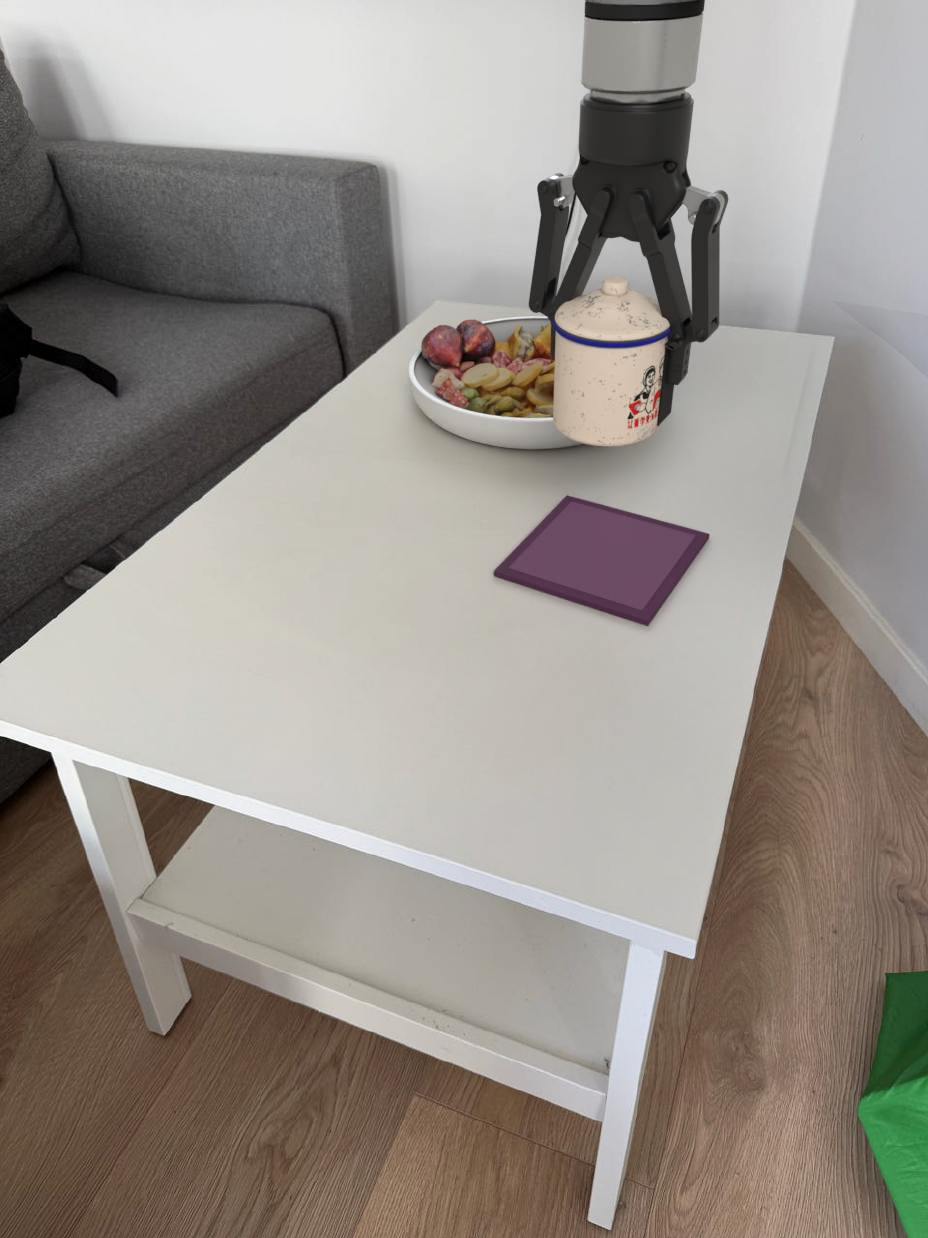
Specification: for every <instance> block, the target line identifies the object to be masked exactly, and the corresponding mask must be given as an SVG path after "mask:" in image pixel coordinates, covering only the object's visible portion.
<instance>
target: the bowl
mask: <svg viewBox="0 0 928 1238" xmlns="http://www.w3.org/2000/svg"><path fill="white" fill-rule="evenodd" d="M420 346H421V347H419V348H418V350H416V351H415V353H414V354H413V355H412V356H411V358H410V361H409V363H408V366H407V376H408V383H409V389H410V392H411V395H412V397H413V399H414V401H415V402H416V405H417V406H418V407H419V408H420V410H421V411H422V413H423V414H425V416H427V417H428V418H429V420H431V421H432V422H433V423H435V424H436V425H437V426H439V427H440V428H442V429H444V430H445V431H447V432H449V433H451V434H454V435H456V436H458V437H461V438H463V439H465V440H469V441H472V442H476V443H479V444H483V445H488V446H489V445H490V446H493V447H499V448H507V449H518V450H548V449H549V450H551V449H560V448H569V447H575V446H580V445H585V444H584V443H580V442H577V441H574V440H572V439H570V438H568V437H566V436H565V435H563V434H562V433H561V432H560V431H559V430H558V429H557V428H556V426H555V424H554V421H553V405H554V373H555V361H554V360H552V357H551V354H550V347H551V322H550V320H549V319H548V317H546V316H545V315H541V316H540V315H531V316H528V315H527V316H525V315H524V316H512V317H502V318H495V319H489V320H484V321H480V320H477V319H465V320H462V321H461V322H460V323H459V324H458V325H457V326H456V328H455V327H454V326H451V325H447V324H439V325H437V326H435V327H433V329H431V330H430V331H428V332H427V333H426V334H425V336H424V337H423V338H422V340H421V345H420Z"/></svg>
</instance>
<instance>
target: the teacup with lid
mask: <svg viewBox="0 0 928 1238" xmlns="http://www.w3.org/2000/svg"><path fill="white" fill-rule="evenodd" d="M553 326H554V329H555V330H556V340H555V373H554V405H553V421H554V424H555V426H556V428H557V429H558V430H559V431H560V432H561V433H562V434H563V435H565V436H566V437H568V438H570V439H572V440H574V441H577V442H580V443H584V444H583V445H590V446H595V447H623V446H628V445H633V444H636V443H639V442H642V441H644V440H646V439H648V438H649V437H651V436H652V435H654V433H656V432H657V430H658V428H659V426H657V419H658V410H659V401H660V392H661V383H662V374H663V365H664V355H665V347H666V346H665V343H666V342H667V341H668V337H667V336H668V335H669V334H670V333H671V329H669V327H670V324H669V322H668V320H667V319H665V318H663V317H662V314H661V311H660V307H659V303H658V299H655V298H652V297H649V296H645V295H643V294H641V293H640V292H639V291H636V290H633V289H631V288H630V281H629V280H628V278H627V277H624V276H621V275H611V276H608V277H605V278H604V279H603V281H602V283H601V288H598V289H595V290H593V291H591V292H588V293H587V294H582V296H579V297H576V298H574V299H573V300H571V301H568V302H565V303H564V304H562V305H561V306H560V307H559V309H558V310H557V312H556V314H555V317H554V319H553Z"/></svg>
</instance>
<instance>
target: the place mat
mask: <svg viewBox="0 0 928 1238" xmlns="http://www.w3.org/2000/svg"><path fill="white" fill-rule="evenodd" d="M709 539H710V533H708V532H704V531H701V530H697V529H693V528H689V527H685V526H682V525H679V524H675V523H671V522H668V521H663V520H660V519H658V518H653V517H648V516H645V515H641V514H638V513H634V512H631V511H628V510H625V509H624V510H623V509H619V508H616V507H612V506H608V505H605V504H601V503H597V502H594V501H590V500H586V499H582V498H579V497H575V496H571V495H568V494H567V495H566V496H565V497H563V499H562V500H561V501H560V502H559V503H558V504H557V505H556V506H554V508H553V509H552V510H551V511H550V512H549V513H548V514H547V515H546V516H545V517H544V518H543V519H542V520H541V521H540V522H539V524H538V525H536V526H535V528H534V529H533V530H532V531H531V532H530V533H529V534H527V536H526V537H525V538H524V539H523V540H522V541H521V542H520V543H519V544H518V545H517V546H516V547H515V548H514V549H513V551H511V553H510V554H509V555H507V557H505V559H504V560H503V561H502V562H501V563H500V564H499V565H498V566H497V567H496V568H495V569H494V570H493V577H495V578H499V579H502V580H505V581H507V582H511V583H514V584H517V585H520V586H523V587H526V588H530V589H533V590H535V591H539V592H542V593H545V594H547V595H551V596H554V597H557V598H560V599H564V600H566V601H570V602H573V603H575V604H578V605H582V606H585V607H588V608H591V609H594V610H597V611H600V612H603V613H605V614H609V615H613V616H616V617H618V618H620V619H621V618H623V619H625V620H628V621H631V622H634V623H637V624H640V625H644V626H646V627H648V626H649V625H650V624H651V623H652V621H653V620H654V618H655V617H656V616H657V614H658V613H659V611H660V609H661V608H662V607H663V605H664V604H665V603H666V601H667V600H668V598H669V597H670V595H672V592H673V591H674V590H675V588H676V587H677V585H678V584H679V583H680V582H681V580H682V578H683V577H684V575H685V574H686V573H687V571H688V570H689V568H690V567H691V565H692V564H693V563H694V561H695V559H697V557H698V555H699V554H700V552H701V551H702V549H704V547H705V545H706V544H707V542H708V541H709Z"/></svg>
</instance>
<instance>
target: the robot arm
mask: <svg viewBox="0 0 928 1238" xmlns="http://www.w3.org/2000/svg"><path fill="white" fill-rule="evenodd" d="M584 1H585V2H584V19H583V35H582V50H581V51H582V52H581V53H582V55H581V67H580V68H581V69H580V83H581V85H582V86H583V87H584V89H586V90H589V92H588V93H585V95H583V98H582V99H581V100H580V102H579V123H578V124H579V126H578V154H579V160H578V164H577V167H576V169H575V171H574V173H573V174H567V175H564V174H563V173H561V172H557V173H554V174H552V175H550V176H548V177H546V178H545V179H542V180H540V182H538V183H537V187H536V191H537V197H538V204H539V212H540V219H539V225H538V233H537V241H536V247H535V255H534V262H533V269H532V276H531V283H530V291H529V296H528V297H529V298H528V309H529V310H530V311H531V312H532V313H534V314H538V313H540V314H541V315H542V316H546V317H548V319H549V320H550V322H551V347H550V354H551V357H552V360H554V361H555V340H556V330H555V329H554V326H553V319H554V317H555V314H556V312H557V310H558V309H559V307H560V306H561V305H562V304H564V303H565V302H568V301H571V300H573V299H574V298H576V297H579V296H583V295H584V292H585V289H586V287H587V285H588V282H589V280H590V278H591V276H592V274H593V271H594V268H595V266H596V264H597V263H598V262H597V261H599V260H598V259H599V257H600V256H601V253H602V250H603V248H604V246H605V245H606V242H607V240H608V239H615V238H617V239H618V238H623V239H625V240H627V241H630V242H635V243H639V247H640V250H641V254H642V255H643V257H644V258H645V259H646V261H647V265H648V268H649V272H650V276H651V280H652V283H653V284H652V285H653V287H654V291H655V292H654V293H655V295H656V300H657V301H658V303H659V307H660V311H661V314H662V317H663V318H665V319H667V320H668V322H669V324H670V327H669V329H671V333H670V334H669V335H668V336H667V337H668V341H667V342H666V343H665V346H666V347H665V355H664V365H663V374H662V383H661V392H660V401H659V410H658V419H657V426H658V427H659V426H660V425H661V424H662V423H663V422H664V421H665V420H666V419H667V417H668V416H669V415H670V414H671V413H672V408H673V407H672V405H673V400H674V399H673V398H674V391H675V386H679V385H680V384H681V382H682V381H683V380H685V378H686V376H687V374H689V373H688V372H689V366H690V365H689V363H690V356H691V348H692V343H695V342H697V343H701V344H702V343H705V342H706V341H707V340H708V339H709V338H710V337H711V336H712V335H713V334H714V333H715V332H716V331H717V330H718V329H719V327H720V278H721V277H720V271H721V269H720V268H721V267H720V265H721V264H720V260H721V259H720V248H721V246H720V245H721V243H720V241H721V240H720V239H721V238H720V236H721V235H720V234H721V231H720V230H721V223H722V220H723V218H724V215H725V212H726V209H727V207H728V203H729V195H728V193H727V192H726V191H725V190H723V189H718V190H716V191H714V192H711V191H707V190H704V189H702V188H699V187H696V186H693V185H692V182H691V178H690V176H689V173H688V172H689V171H688V167H687V165H688V164H687V163H688V156H689V149H690V141H691V140H690V139H691V132H692V131H691V130H692V122H693V121H692V120H693V113H694V112H693V111H694V104H695V100H694V98H692V94H690V92H688V91H686V89H688V88H690V87H691V86H693V84H695V83H696V79H697V72H698V64H699V55H700V45H701V38H702V28H703V19H704V11H705V4H706V3H705V2H706V0H584ZM575 195H576V197H577V199H578V201H579V202H580V205H581V206H582V208H583V210H584V212H585V214H586V217H585V220H584V222H583V224H582V227H581V230H580V232H579V235H578V237H577V245H576V248H575V249H574V252H573V254H572V257H571V259H570V262H569V264H568V267H567V269H566V272H565V274H564V276H563V279H562V281H561V284H560V286H559V288H558V285H559V279H560V272H561V266H562V260H563V255H564V247H565V242H566V236H567V229H568V224H569V217H570V205H571V204H572V203H573V202H574V197H575ZM682 205H684V206H686V210H687V220H688V222H689V223H690V224H691V225H692V230H691V235H690V237H691V239H690V256H691V257H690V258H691V259H690V260H691V261H690V262H691V263H690V264H691V265H690V267H691V305H690V301H689V298H688V297H689V296H688V294H687V289H686V285H685V281H684V277H683V274H682V269H681V266H680V265H681V264H680V261H679V257H678V253H677V249H676V245H675V244H676V233H675V229H674V224H673V221H672V218H673V216H674V215H675V214H676V213H677V212H678V210H679V209H680V208H681V207H682Z"/></svg>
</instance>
